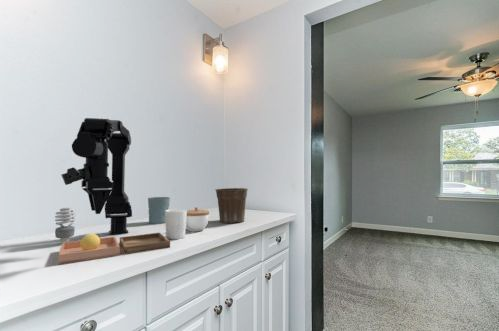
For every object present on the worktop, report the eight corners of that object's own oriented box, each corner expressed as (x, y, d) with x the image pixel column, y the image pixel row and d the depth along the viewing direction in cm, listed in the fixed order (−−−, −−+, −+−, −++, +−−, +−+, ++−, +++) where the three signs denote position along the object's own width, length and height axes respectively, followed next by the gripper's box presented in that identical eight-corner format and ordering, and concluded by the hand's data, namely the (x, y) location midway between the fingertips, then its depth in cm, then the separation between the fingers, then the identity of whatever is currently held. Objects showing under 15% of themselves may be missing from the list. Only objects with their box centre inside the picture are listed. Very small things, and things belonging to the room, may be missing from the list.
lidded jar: (181, 228, 109) (181, 206, 110) (205, 226, 114) (205, 205, 114) (185, 233, 100) (185, 209, 100) (212, 231, 104) (212, 208, 104)
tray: (119, 243, 86) (119, 237, 86) (159, 238, 93) (159, 232, 93) (125, 254, 74) (125, 247, 74) (170, 247, 81) (170, 240, 81)
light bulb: (78, 242, 87) (79, 207, 88) (62, 246, 82) (63, 209, 82) (67, 240, 89) (68, 206, 90) (50, 244, 84) (51, 208, 84)
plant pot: (210, 223, 120) (210, 189, 121) (221, 218, 136) (221, 187, 136) (243, 225, 117) (243, 190, 117) (251, 219, 132) (250, 188, 133)
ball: (80, 250, 76) (80, 233, 76) (99, 247, 79) (99, 231, 79) (79, 254, 72) (80, 236, 72) (100, 251, 74) (100, 234, 75)
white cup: (180, 240, 89) (180, 212, 90) (160, 239, 91) (160, 211, 91) (190, 235, 97) (190, 209, 97) (171, 234, 99) (171, 208, 99)
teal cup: (143, 223, 122) (143, 198, 122) (160, 219, 131) (160, 196, 131) (157, 225, 117) (157, 199, 117) (174, 221, 125) (174, 197, 126)
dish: (62, 250, 77) (62, 242, 77) (114, 243, 85) (114, 236, 85) (58, 264, 65) (58, 255, 65) (119, 255, 73) (119, 246, 73)
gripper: (62, 160, 79) (61, 211, 78) (65, 156, 64) (63, 219, 63) (103, 161, 86) (102, 208, 85) (114, 158, 71) (113, 214, 70)
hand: (95, 212), depth 76 cm, fingers open, 9 cm apart
